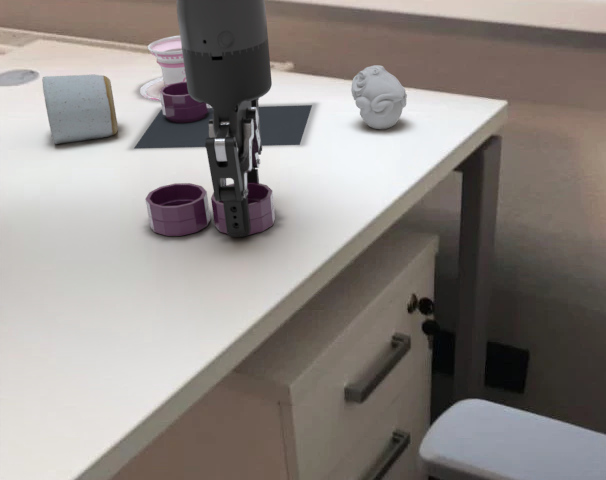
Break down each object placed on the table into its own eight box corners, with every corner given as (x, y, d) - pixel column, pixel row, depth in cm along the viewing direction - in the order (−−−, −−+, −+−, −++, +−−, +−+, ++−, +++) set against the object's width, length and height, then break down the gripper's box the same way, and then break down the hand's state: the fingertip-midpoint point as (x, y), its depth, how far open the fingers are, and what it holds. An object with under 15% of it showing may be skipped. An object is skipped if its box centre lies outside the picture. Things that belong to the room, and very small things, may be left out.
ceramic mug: (123, 143, 108) (110, 77, 103) (55, 153, 106) (39, 86, 102) (116, 117, 116) (104, 55, 111) (53, 126, 115) (38, 64, 110)
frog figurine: (373, 115, 110) (373, 56, 105) (418, 126, 106) (419, 65, 102) (341, 130, 107) (339, 69, 102) (386, 141, 103) (385, 79, 98)
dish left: (159, 124, 111) (155, 96, 109) (170, 109, 116) (165, 82, 113) (204, 123, 110) (200, 95, 108) (213, 108, 115) (210, 80, 113)
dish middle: (145, 241, 86) (139, 207, 84) (160, 215, 91) (154, 183, 88) (203, 240, 85) (199, 207, 83) (215, 214, 90) (211, 182, 88)
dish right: (211, 240, 85) (206, 207, 83) (222, 214, 90) (217, 182, 88) (270, 239, 85) (267, 206, 82) (278, 214, 89) (275, 181, 87)
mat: (134, 151, 105) (133, 148, 105) (161, 112, 116) (161, 109, 116) (299, 148, 103) (299, 144, 103) (312, 108, 114) (312, 105, 113)
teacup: (185, 109, 116) (178, 59, 112) (122, 96, 122) (113, 49, 118) (244, 83, 123) (239, 36, 120) (181, 72, 129) (175, 27, 126)
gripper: (198, 17, 82) (220, 191, 93) (162, 62, 71) (192, 254, 82) (278, 13, 81) (291, 190, 92) (254, 59, 70) (272, 253, 81)
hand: (244, 219), depth 87 cm, fingers closed on dish right, 6 cm apart
